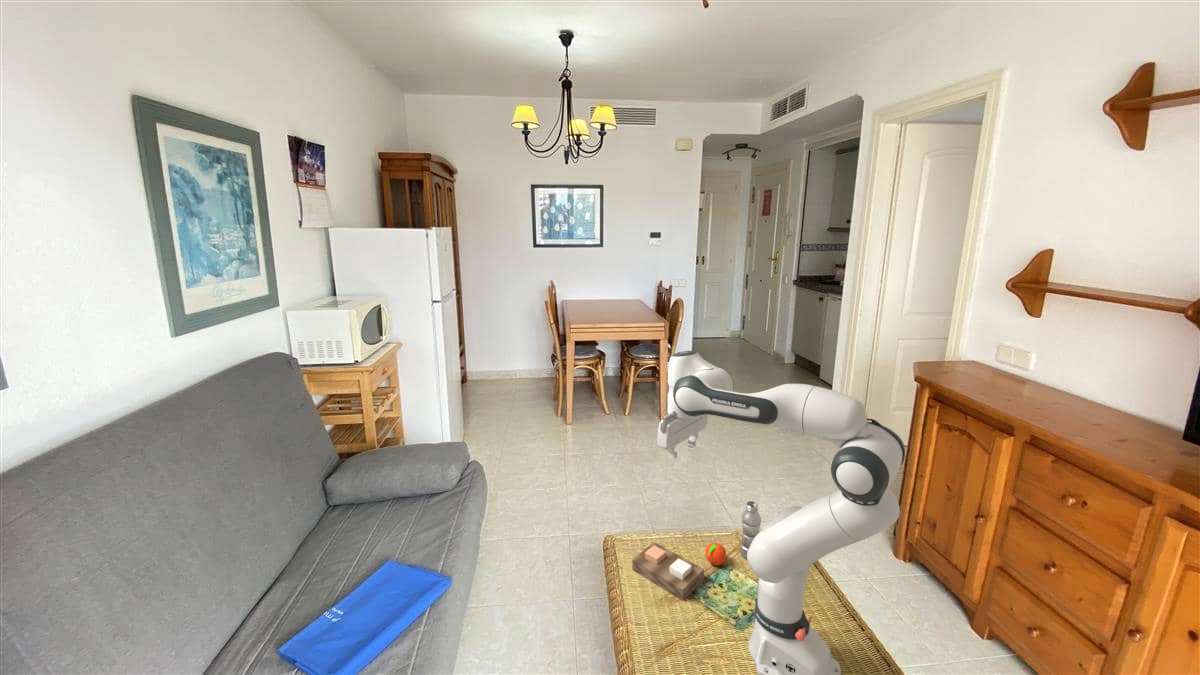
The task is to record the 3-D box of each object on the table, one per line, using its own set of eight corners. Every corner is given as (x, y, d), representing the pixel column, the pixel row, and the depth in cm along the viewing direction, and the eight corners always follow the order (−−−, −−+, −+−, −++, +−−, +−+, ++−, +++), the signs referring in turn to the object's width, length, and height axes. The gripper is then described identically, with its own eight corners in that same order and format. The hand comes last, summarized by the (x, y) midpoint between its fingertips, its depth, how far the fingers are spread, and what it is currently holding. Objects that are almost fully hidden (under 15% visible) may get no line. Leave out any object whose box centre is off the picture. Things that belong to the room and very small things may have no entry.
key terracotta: (665, 558, 159) (665, 551, 158) (656, 566, 156) (656, 559, 155) (653, 552, 162) (654, 545, 162) (644, 559, 159) (644, 552, 158)
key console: (703, 579, 154) (704, 569, 153) (682, 600, 145) (682, 589, 144) (654, 552, 167) (654, 542, 166) (632, 569, 159) (632, 559, 158)
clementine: (716, 574, 156) (716, 555, 154) (698, 563, 161) (699, 545, 159) (730, 562, 161) (730, 544, 159) (712, 552, 166) (713, 535, 165)
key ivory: (691, 573, 152) (691, 565, 152) (682, 581, 149) (682, 574, 148) (678, 565, 156) (678, 558, 155) (669, 574, 152) (669, 566, 152)
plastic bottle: (739, 561, 162) (741, 508, 157) (739, 548, 168) (742, 497, 163) (759, 564, 160) (762, 511, 155) (759, 551, 166) (762, 500, 162)
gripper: (670, 421, 125) (670, 469, 128) (712, 399, 139) (710, 443, 142) (651, 415, 129) (651, 461, 132) (693, 395, 143) (692, 437, 146)
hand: (682, 452), depth 137 cm, fingers open, 8 cm apart
